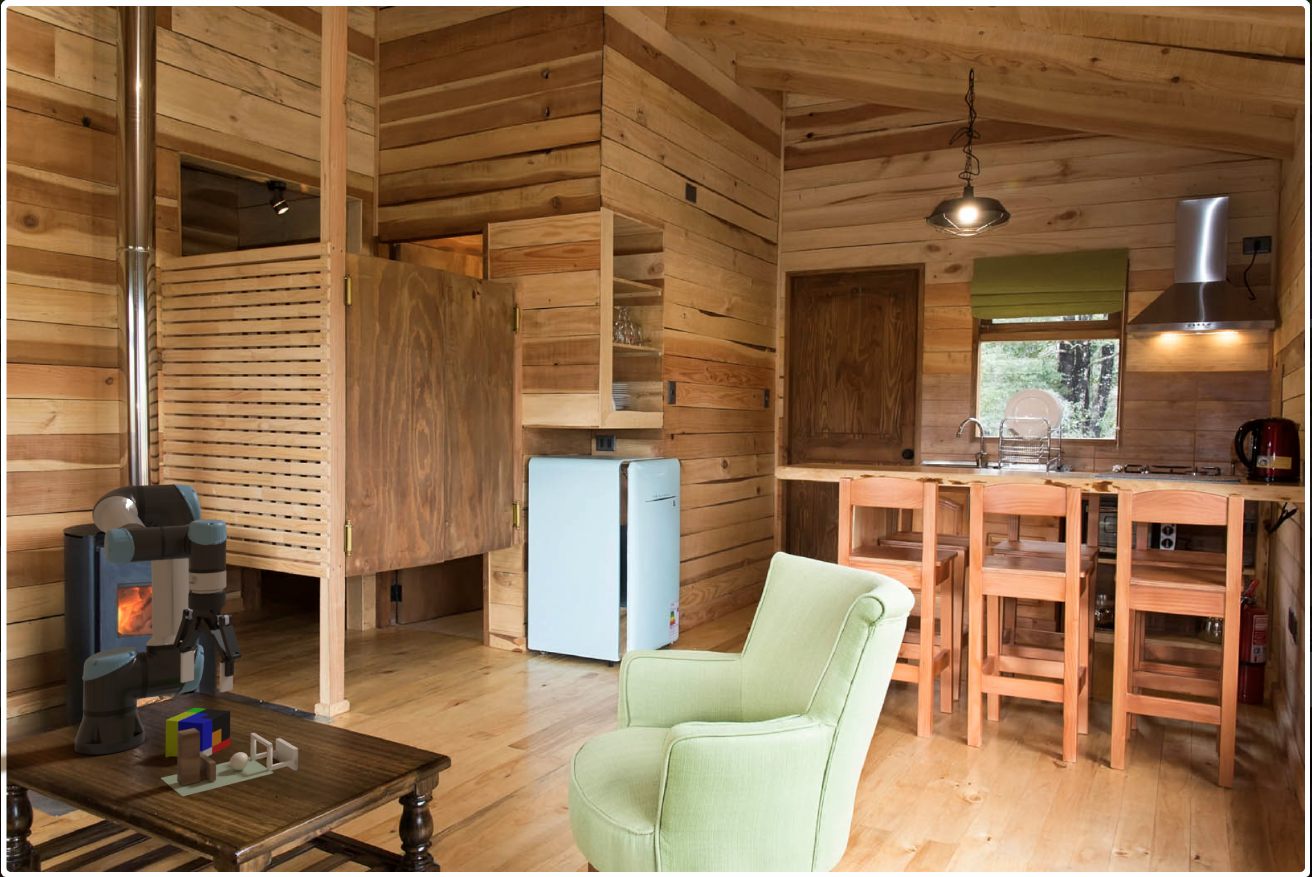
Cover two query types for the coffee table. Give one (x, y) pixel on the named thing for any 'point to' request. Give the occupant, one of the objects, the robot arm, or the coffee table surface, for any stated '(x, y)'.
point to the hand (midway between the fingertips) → (206, 686)
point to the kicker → (192, 759)
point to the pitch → (253, 770)
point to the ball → (239, 761)
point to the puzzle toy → (200, 729)
